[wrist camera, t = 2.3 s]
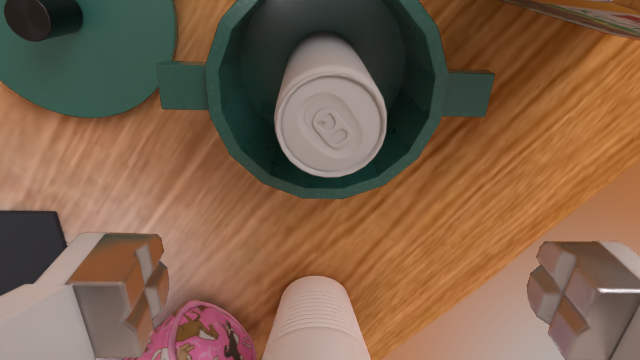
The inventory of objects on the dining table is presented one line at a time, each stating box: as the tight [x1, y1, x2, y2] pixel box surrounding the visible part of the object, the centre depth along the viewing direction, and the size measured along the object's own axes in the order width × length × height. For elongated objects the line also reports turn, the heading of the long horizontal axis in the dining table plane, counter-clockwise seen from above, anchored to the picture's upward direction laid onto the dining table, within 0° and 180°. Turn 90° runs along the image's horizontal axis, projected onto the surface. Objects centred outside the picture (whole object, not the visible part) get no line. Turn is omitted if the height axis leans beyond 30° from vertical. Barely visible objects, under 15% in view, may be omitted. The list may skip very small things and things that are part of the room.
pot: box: [155, 0, 495, 199], centre depth 24 cm, size 12×18×7 cm
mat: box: [0, 211, 67, 296], centre depth 34 cm, size 12×12×1 cm
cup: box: [262, 276, 371, 360], centre depth 32 cm, size 10×10×11 cm
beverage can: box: [274, 31, 387, 177], centre depth 22 cm, size 5×5×12 cm
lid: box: [0, 0, 178, 118], centre depth 23 cm, size 13×13×5 cm
